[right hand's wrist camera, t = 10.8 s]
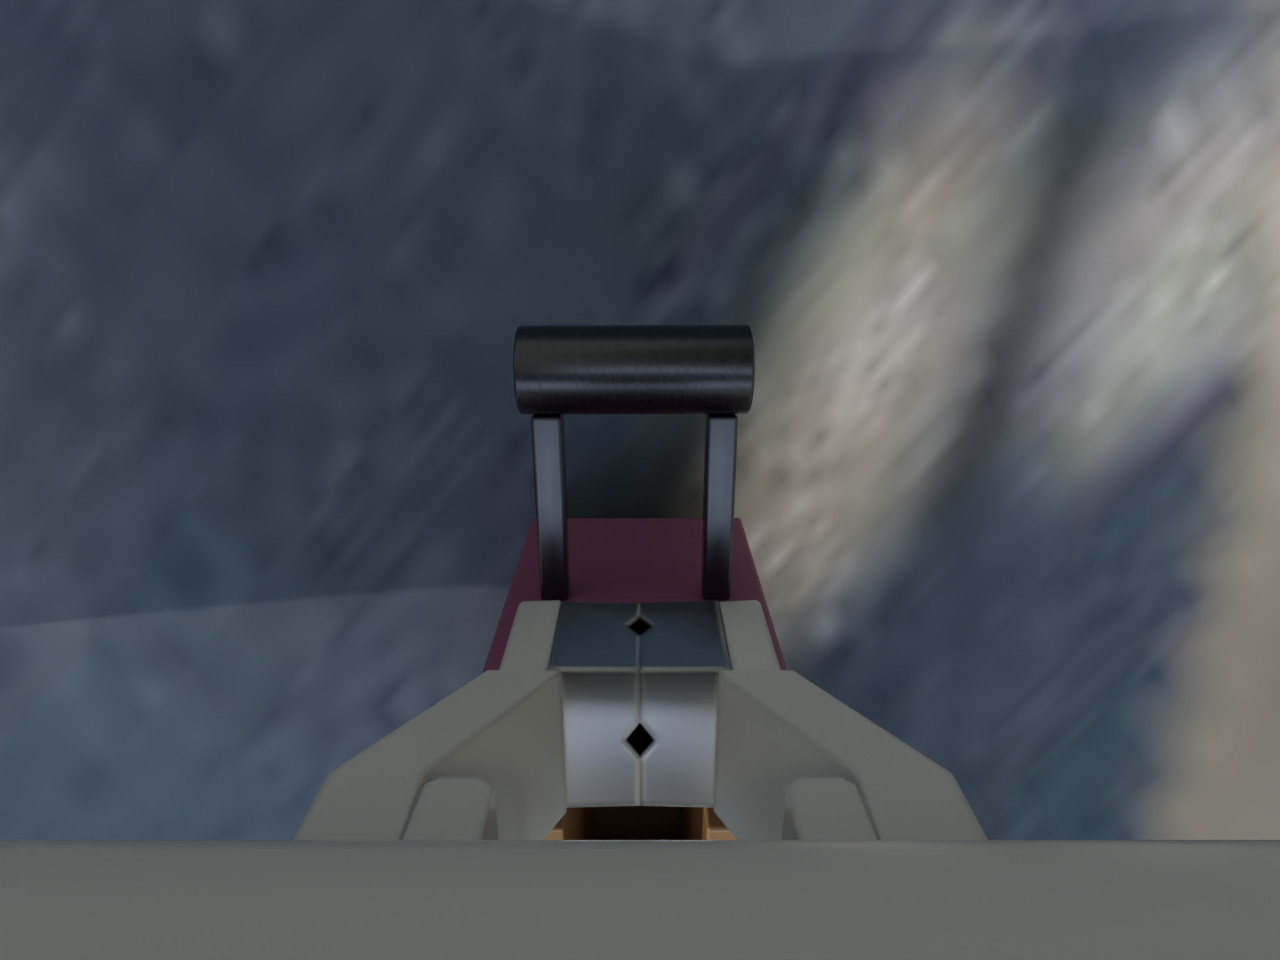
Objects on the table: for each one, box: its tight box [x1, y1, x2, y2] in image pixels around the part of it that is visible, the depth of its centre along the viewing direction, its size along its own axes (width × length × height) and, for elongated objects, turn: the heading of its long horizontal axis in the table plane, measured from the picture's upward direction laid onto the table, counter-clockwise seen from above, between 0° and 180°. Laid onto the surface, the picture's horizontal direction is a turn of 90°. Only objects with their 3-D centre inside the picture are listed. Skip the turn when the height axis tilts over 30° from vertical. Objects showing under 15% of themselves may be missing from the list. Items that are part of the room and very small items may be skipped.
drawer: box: [483, 325, 787, 840], centre depth 19 cm, size 21×6×9 cm, turn 0°
